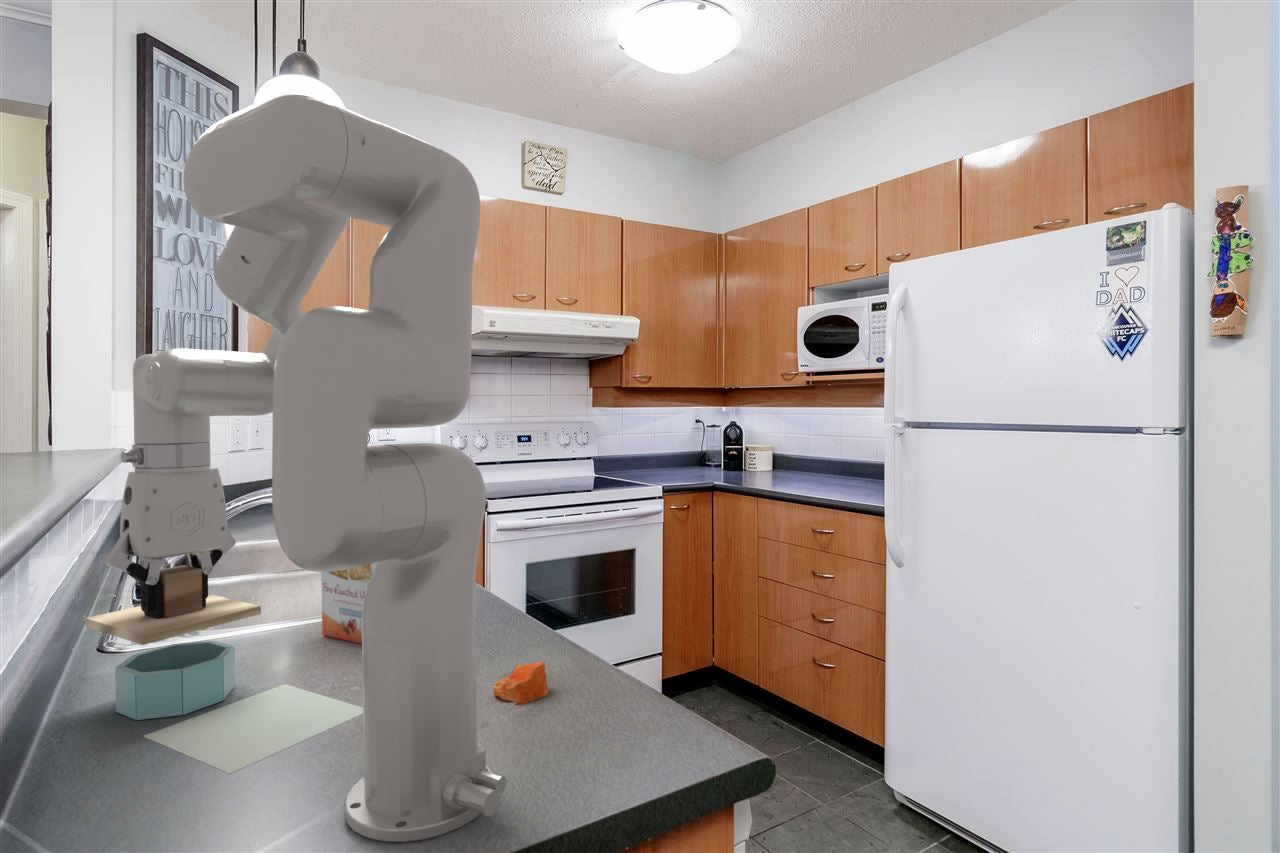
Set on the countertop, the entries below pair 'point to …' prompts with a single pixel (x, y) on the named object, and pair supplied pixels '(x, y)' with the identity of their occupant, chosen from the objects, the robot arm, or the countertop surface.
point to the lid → (174, 611)
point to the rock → (523, 684)
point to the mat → (255, 727)
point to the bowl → (174, 679)
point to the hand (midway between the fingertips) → (175, 609)
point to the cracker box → (344, 601)
